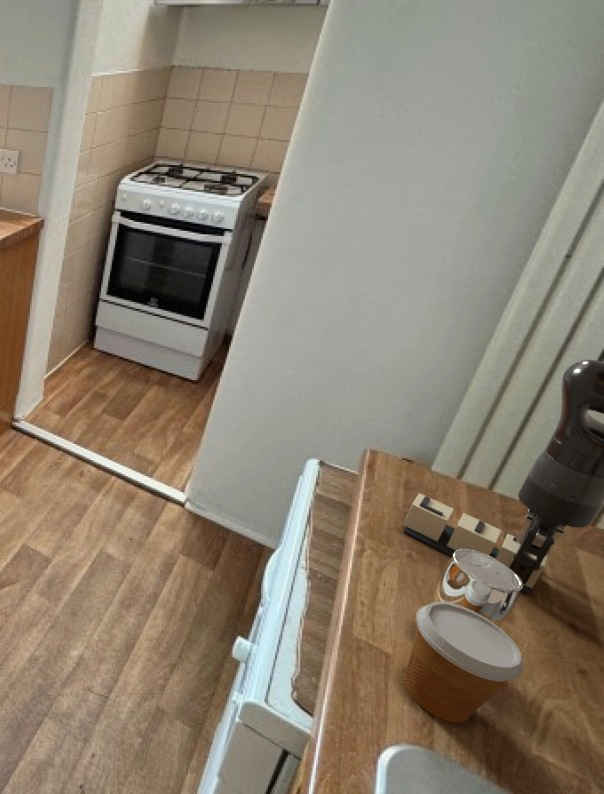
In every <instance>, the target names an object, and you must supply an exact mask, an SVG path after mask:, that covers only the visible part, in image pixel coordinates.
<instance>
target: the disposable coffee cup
mask: <svg viewBox="0 0 604 794" xmlns="http://www.w3.org/2000/svg"><path fill="white" fill-rule="evenodd" d="M415 619H416V625H417V627H416V630H415V634H414V638H413V642H412V646H411V650H410V654H409V657H408V660H407V661H408V662H407V666H406V670H405V672H404V676H403V685H404V688H405V690H406V691H407V693H408V694H409V696H410V697H411V698H412V699H413V700H414V701H415V703H417V704H418V705H419V706H420V707H422V708H423V709H424V710H425V711H427V712H428V713H430V714H431V715H433V716H435V717H436V718H438V719H441V720H443V721H447V722H449V723H455V724H462V723H465V722H466V721H468V719H470V717H471V716H473V714H475V713H476V711H478V710H479V708H480V707H482V706H483V705H484V704H485V703H486V702H487V701H488V700H489V699H490V698H491V697H492V696H493V695H494V694H496V692H498V690H500V689H501V688H502V687H503V686H504V685H505V684H506V683H507V682H509V681H512V680H516V679H517V678H519V677H520V676H521V675H522V673H523V670H524V666H523V662H522V654H521V651H520V649H519V647H518V645H517V644H516V642H515V641H514V640H513V639H512V637H510V636H509V634H508V633H506V632H505V631H504V629H502V628H501V627H500V626H499V627H498V626H496V625H495V624H494V623H492V622H491V621H490V620H488V619H486V618H485V617H483V616H481V615H480V614H478V613H476V612H474V611H472V610H469V609H467V608H465V607H462V606H459V605H456V604H452V603H448V602H433V601H432V602H431V603H429V604H426V605H424V606H423V605H422V607H420V608H419V609H418V610H417V612H416V616H415Z"/></svg>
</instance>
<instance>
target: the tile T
mask: <svg viewBox="0 0 604 794" xmlns="http://www.w3.org/2000/svg"><path fill="white" fill-rule="evenodd" d="M517 539H518V537H516V536H514V535H512V534H509V533H507V534H506V536H505V538H504V539H503V542H502V544H501V545H500V546H499V548H498V549H499V551H498V552H497V554H496V557H495V559H497V560H498V561H500V562H502V563H503V564H505V565H506V566H508V567H510V565H511V563H512V561H513V560H514V558H513V556H514V553H516V552H517V550H518V548H519V546H520V545H519V544H518V543H517ZM523 554H525V555H527V556H529V557H531V558H533V559H536V556H534V555H532V554H530V553H528V552H523ZM548 557H549V555H548V556H545V557H544V559H543V561H542V563H541V564H540V566H539V567H540V569H539V570H538V569H537V571H535V570H534V571H533V573H532V574H531V576H530V578H529V579H528V581H527V583H526V584H524V585H526V586H528V587H530V589H533V587H534V586H535V584H536V583H537V581H538V579H539V577H540V576H541V574H542V573H543V571H544V569H545V567H546V564H547V561H548Z"/></svg>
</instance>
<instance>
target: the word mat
mask: <svg viewBox="0 0 604 794" xmlns="http://www.w3.org/2000/svg"><path fill="white" fill-rule="evenodd" d="M454 530H455V527H452V526H451V525H448V524H447V525H446V527H445V529H444V530H443V532H442V534H441V536H440V538H439V540H438V541H435V540H433V539H431V538H429V537H427V536H425V535H423V534H421V533H419V532H417V531H415V530H413V529H411V528H409V527H407V526H405V528H404V530H403V534H406V535H408V536H409V537H411V538H414V539H415V540H417V541H419V542H421V543H423V544H425V545H426V546H429V547H431V548H433V549H435V550H437V551H439V552H441V553H443V554H445V555H447V556H448V557H450V558H451V557H452V556H453V554H454V552H455V551H456V550H454V549H452V548H450V547H448V546H447V544H448V542H449V540H450V538H451V536H452V534H453V532H454ZM499 549H500V548H496V547H494V548H493V550H492V552H491V553H490V555H489V556H491V557H493V558H495V557H496V554H497V552H498V551H499ZM530 590H531V588H530V587H528V586H526V585H524V584H523V587H522V589H521V591H520V593H523V594H525V595H529V593H530Z"/></svg>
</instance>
